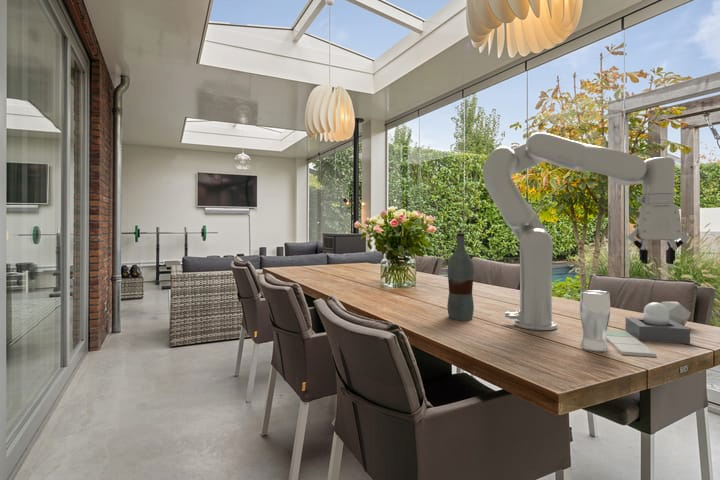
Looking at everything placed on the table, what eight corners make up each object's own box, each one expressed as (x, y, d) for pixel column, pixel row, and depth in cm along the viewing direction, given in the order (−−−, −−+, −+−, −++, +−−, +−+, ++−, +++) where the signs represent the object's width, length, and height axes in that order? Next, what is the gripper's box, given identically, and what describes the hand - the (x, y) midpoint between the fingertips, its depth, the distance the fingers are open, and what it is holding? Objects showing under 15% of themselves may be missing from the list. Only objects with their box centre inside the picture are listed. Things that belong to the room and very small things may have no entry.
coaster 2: (612, 345, 111) (612, 342, 111) (604, 338, 118) (604, 335, 118) (644, 347, 108) (644, 344, 108) (634, 340, 116) (634, 337, 116)
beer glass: (573, 345, 111) (574, 290, 111) (597, 344, 112) (598, 289, 111) (590, 352, 104) (590, 294, 104) (615, 352, 105) (616, 293, 105)
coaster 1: (603, 337, 118) (603, 335, 118) (597, 331, 125) (597, 328, 125) (633, 339, 116) (633, 337, 116) (625, 333, 123) (625, 330, 123)
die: (691, 333, 126) (700, 306, 129) (664, 318, 127) (673, 292, 130) (671, 335, 134) (680, 310, 136) (646, 322, 135) (655, 297, 138)
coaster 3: (621, 354, 103) (621, 351, 103) (612, 346, 110) (612, 343, 110) (656, 357, 101) (656, 353, 101) (644, 348, 108) (645, 345, 108)
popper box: (639, 340, 116) (639, 326, 115) (625, 330, 127) (625, 317, 127) (690, 343, 112) (690, 329, 112) (671, 332, 123) (671, 319, 123)
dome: (647, 324, 117) (648, 303, 117) (640, 320, 123) (640, 300, 123) (672, 325, 116) (672, 304, 115) (663, 321, 121) (664, 301, 121)
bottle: (441, 316, 147) (441, 233, 146) (460, 314, 152) (461, 233, 151) (460, 321, 139) (460, 233, 138) (479, 318, 144) (480, 233, 143)
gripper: (628, 201, 117) (627, 264, 118) (700, 199, 112) (698, 265, 113) (619, 202, 124) (619, 261, 125) (687, 201, 119) (686, 263, 120)
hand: (656, 262), depth 119 cm, fingers open, 5 cm apart
